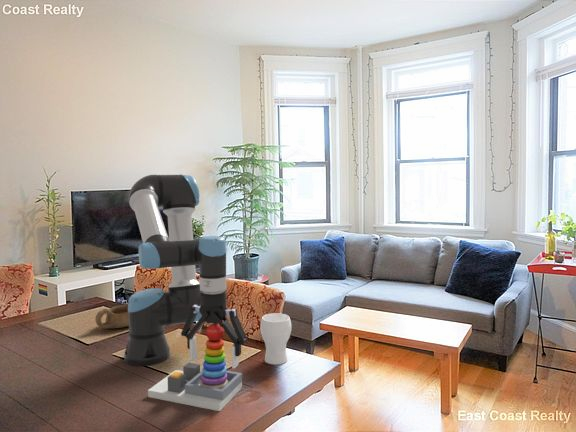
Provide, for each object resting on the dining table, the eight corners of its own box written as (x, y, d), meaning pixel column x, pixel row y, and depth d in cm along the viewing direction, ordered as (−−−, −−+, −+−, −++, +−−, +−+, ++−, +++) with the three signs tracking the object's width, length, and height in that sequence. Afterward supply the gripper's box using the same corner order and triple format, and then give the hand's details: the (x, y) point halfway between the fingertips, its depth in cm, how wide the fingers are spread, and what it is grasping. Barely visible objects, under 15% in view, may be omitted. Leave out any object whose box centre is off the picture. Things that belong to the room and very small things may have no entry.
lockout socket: (185, 393, 123) (184, 384, 123) (206, 375, 134) (206, 367, 134) (223, 400, 119) (223, 391, 119) (241, 381, 130) (241, 373, 130)
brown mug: (114, 333, 171) (108, 309, 172) (92, 337, 178) (87, 313, 178) (149, 320, 187) (143, 297, 187) (127, 324, 194) (122, 302, 194)
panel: (148, 396, 125) (147, 388, 125) (175, 376, 138) (175, 368, 138) (219, 411, 117) (219, 402, 117) (242, 387, 130) (241, 379, 130)
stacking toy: (214, 396, 121) (213, 330, 120) (194, 388, 126) (193, 325, 124) (233, 385, 128) (233, 322, 126) (213, 378, 132) (213, 317, 131)
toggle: (183, 379, 131) (183, 366, 131) (188, 375, 134) (188, 362, 134) (195, 381, 130) (194, 368, 130) (200, 377, 133) (200, 364, 132)
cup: (287, 367, 144) (288, 323, 143) (256, 365, 146) (256, 321, 145) (293, 355, 154) (294, 313, 153) (264, 352, 157) (264, 311, 155)
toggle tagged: (167, 390, 124) (167, 375, 124) (173, 385, 127) (173, 370, 127) (180, 393, 123) (179, 377, 123) (185, 388, 126) (185, 372, 125)
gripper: (167, 290, 125) (169, 362, 127) (247, 298, 117) (248, 374, 118) (182, 284, 132) (183, 352, 134) (258, 291, 124) (258, 363, 125)
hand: (214, 363), depth 126 cm, fingers open, 13 cm apart
